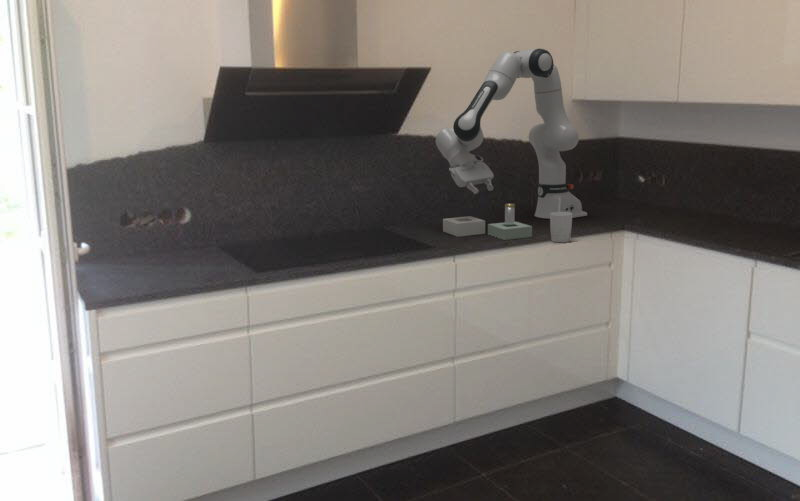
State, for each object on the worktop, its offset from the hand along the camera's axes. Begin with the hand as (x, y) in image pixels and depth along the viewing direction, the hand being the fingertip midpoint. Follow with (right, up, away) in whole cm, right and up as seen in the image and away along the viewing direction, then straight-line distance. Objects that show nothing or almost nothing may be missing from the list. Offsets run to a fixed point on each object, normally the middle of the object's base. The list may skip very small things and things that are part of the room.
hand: (484, 191), depth 284 cm
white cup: (+26, -19, -15) cm, 36 cm away
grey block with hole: (-7, -16, +4) cm, 18 cm away
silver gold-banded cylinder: (+9, -17, -4) cm, 20 cm away
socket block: (+9, -17, -4) cm, 20 cm away
